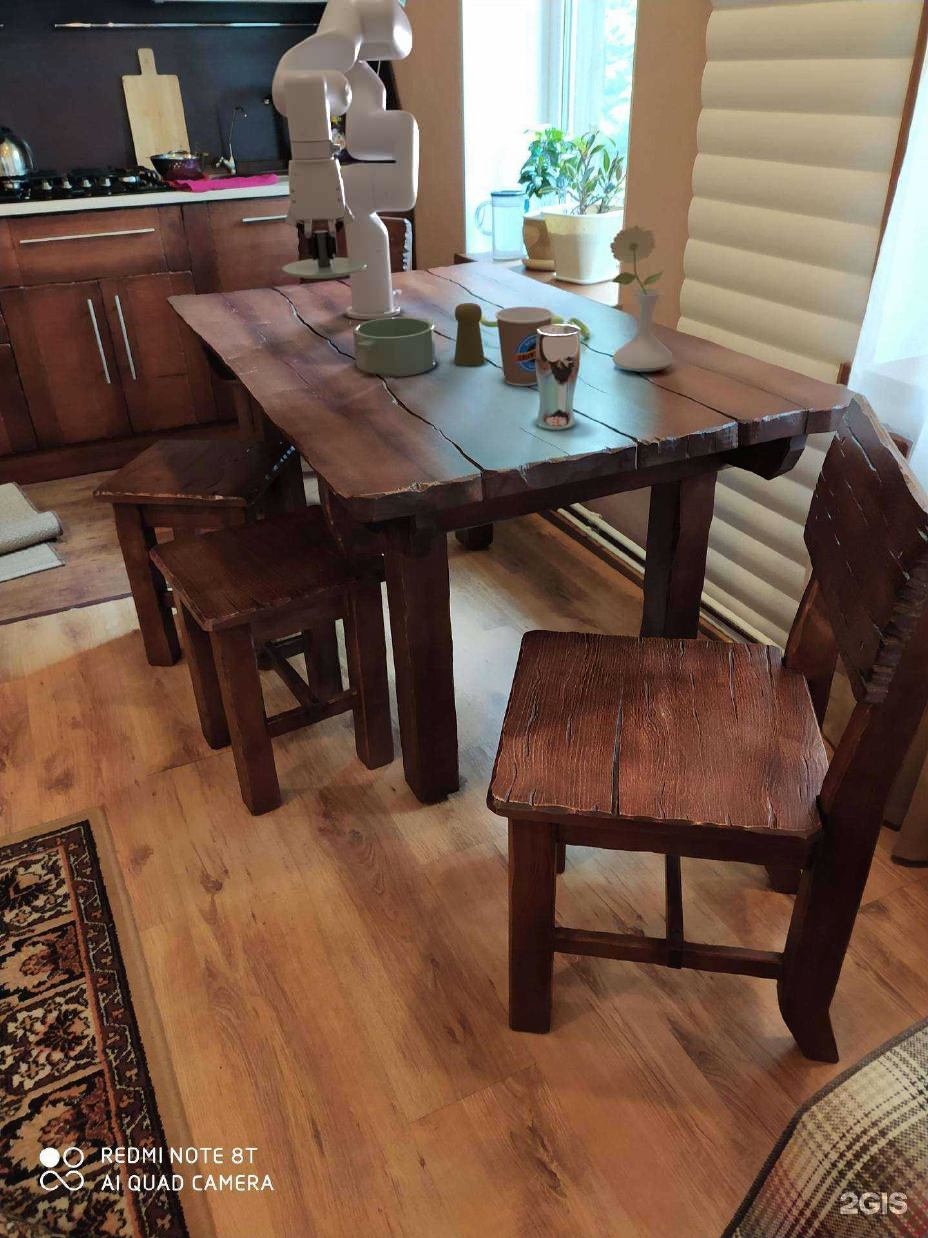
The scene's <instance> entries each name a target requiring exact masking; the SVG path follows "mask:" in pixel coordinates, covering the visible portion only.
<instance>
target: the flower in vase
mask: <svg viewBox="0 0 928 1238" xmlns="http://www.w3.org/2000/svg"><path fill="white" fill-rule="evenodd" d="M609 248H610V249H611V253H612V254H613V255H612V256H613V258H614V260H617V261H618V262H622V261H623V263H624V264H633V273H630V272H627V271H625V272H624V271H623V272H621V273H619V274H617V275H616V276H615V277H614V278H613V279H612V281H611V283H616V284H620V285H625V286H626V285H630V284H631V283H632V282H634V280H635V279H636V281H637V282H638V284H639V285H640V287H641V289H637V290H635V291H633V294H634V296H635V297H636V300H637V301H638V302H637V303H638V309H639V324H638V330H637V332H636V334H635V335H634V336H633V337H632V338H630V339H629V340H628V341H626V342H625V343H624V344H622V345H621V346H620V347H619V348H618V349H617V350H616V351H615V352H614V353H613V355H612V358H611V360H612V362H613V364H614V365H615V366H617V367H619V368H621V369H623V370H625V371H631V372H637V373H639V372H640V373H648V372H657V371H661V370H663V369H666V368H669V367H670V366H671V365H672V364H673V363H674V361H675V360H674V359H675V358H674V355H673V354H672V352H671V351H670V350H669V349H668V348H667V347H666V345H664V344H663V343H662V342H661V341H659V339H658V338H657V337H656V336H655V335H654V333H653V328H652V325H653V315H654V311H655V306H656V304H657V301H658V300H659V298H660V297H661V295H662V294H663V291H662V290H659V289H653V288H645V287H644V286H647V285H653V284H655V283H656V282H657V281H659V280H660V279H661V277H662V276H663V274H664V269H663V270H661V271H659V272H657V273H654V274H650V275H648V276H647V277H646V278H645V279H644V281H643V283H642V282H641V280H640V278H639V276H638V274H637V267H636V262H641V261H642V260H645V259H648V258H649V257H650V254H651V253H652V252H653V250H654V249H655V248H656V238H654V233H653V230H652V229H646V227H645V225H641V226H639V225H638V224H635V225H634V226H631V225H630V226H629V225H628V226H626V227H625V229H621V230H619V232H618V233H616V236H614V238H613V242H610V245H609Z"/></svg>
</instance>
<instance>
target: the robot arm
mask: <svg viewBox="0 0 928 1238" xmlns="http://www.w3.org/2000/svg"><path fill="white" fill-rule="evenodd" d="M412 45H413V32H412V27H411V23H410V20H409V18H408V16H407V14H406V13H405V11H404V10H403V8H402V7H401V5H400V4H399V2H398V1H397V0H328V2H327V3H326V5H325V8H324V11H323V13H322V16H321V19H320V22H319V24H318V27H317V28H316V32H315V33H313V34H312V35H310V36H308V37H307V38H305V39H304V40H302V41H301V42H299V43H297V44H295V45H294V46H293V47H291V48H290V49H288V50H287V51H286V52H285V53H284V54H283V56H281V59H280V60H279V62H278V64H277V67H276V70H275V72H274V76H273V79H272V84H271V86H272V87H271V95H272V101H273V105H274V107H275V109H276V111H277V112H278V113H279V114H280V115H281V116H283V117H286V118H287V124H288V126H287V127H288V133H289V141H290V152H291V160H289V161H288V194H289V208H288V211H287V215H286V218H285V224H286V225H288V226H290V227H292V228H295V229H297V230H298V231H299V232H300V233H301V234H302V235H304V236H305V238H306V240H307V241H306V242H307V249H308V256H312V259H313V260H316V259H317V253H316V244H315V236H314V231H313V221H318V220H319V221H321V220H322V221H323V220H327V225H328V230H329V231H328V245H329V255H330V259H331V260H332V259H334V258H335V255H338V244H337V235H338V234H339V232H340V231H341V230H342V229H343V227H344V231H345V243H346V252H347V258H353V259H358V260H362V261H364V262H366V265H367V266H366V268H365V269H364V270H362V271H359V272H356V273H353V274H350V275H348V276H349V288H350V297H351V298H350V299H351V306H348V308H346V309H345V315H346V316H347V317H348V318H350V319H354V320H363V321H370V320H375V319H381V318H392V317H396V316H397V315H399V314H400V313H401V307H400V306H399V305H397V304H395V300H396V299H399V298H401V297H402V296H403V292H402V290H401V289H400V288H398V289H393V286H392V285H393V284H392V272H391V271H392V269H391V256H390V243H389V242H390V241H389V232H388V229H387V227H386V226H385V224H384V222H383V221H382V220H381V218H380V217H379V215H378V214H377V213H381V212H385V213H386V212H388V213H389V212H390V213H391V212H407V211H410V210H412V209H413V208H414V207H415V205H416V203H417V198H418V197H417V196H418V183H419V182H418V181H419V179H418V178H419V154H420V153H419V151H420V150H419V148H420V142H419V140H420V138H419V129H418V128H419V127H418V124H417V120H416V118H415V116H414V115H413V114H412V113H411V112H409V111H406V110H403V109H402V110H401V109H391V110H390V109H387V110H386V103H387V101H386V99H387V91H386V87H385V84H384V82H383V81H382V79H381V78H380V76H379V75H378V74H377V72H375V70H374V69H373V68H372V67H371V66H370V64H369V63H368V61H369V62H370V61H374V62H375V61H397V60H403V59H405V58H407V57H408V55H409V54H410V52H411V49H412ZM344 114H345V147H346V150H347V153H348V154H349V156H351V158H354V159H356V160H361V161H395V162H393V163H389V162H388V163H377V162H368V163H365V162H363V163H352V164H348V165H346V166H344V167H343V168H341V166H340V165H341V164H340V161H339V159H338V158H334V155H336V154H337V153H341V152H342V147H341V143H336V142H335V141H333V138H332V137H333V135H332V125H331V118H336V117H337V118H338V117H340V116H343V115H344ZM337 219H338V220H337ZM336 220H337V221H336Z"/></svg>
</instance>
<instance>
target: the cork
mask: <svg viewBox="0 0 928 1238" xmlns="http://www.w3.org/2000/svg"><path fill="white" fill-rule="evenodd" d="M481 316H483V311H482V307H481V305H479V304H478V303H475V302H474V303H473V302H464V303H459V304H458V305H457V306H456V307H455V309H454V318H455V321H456V322H457V328H456V341H455V349H454V350H455V352H454V361H453V363H454V364H455V365H457V366H459V367H478V366H482V365H484V364H485V363H486V359H485V352H484V346H483V339H482V332H481V331H482V330H481V325H480V324H481V323H480V322H479V321H480V319H481Z"/></svg>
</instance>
